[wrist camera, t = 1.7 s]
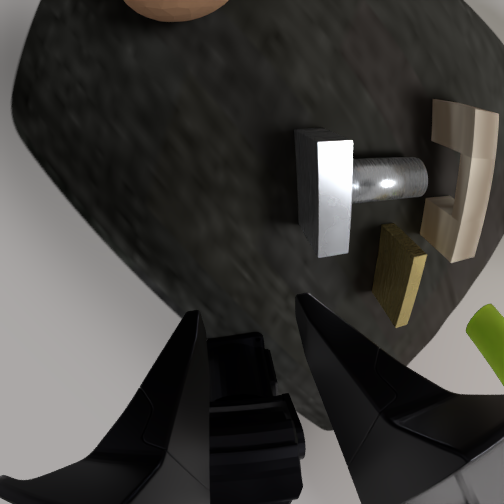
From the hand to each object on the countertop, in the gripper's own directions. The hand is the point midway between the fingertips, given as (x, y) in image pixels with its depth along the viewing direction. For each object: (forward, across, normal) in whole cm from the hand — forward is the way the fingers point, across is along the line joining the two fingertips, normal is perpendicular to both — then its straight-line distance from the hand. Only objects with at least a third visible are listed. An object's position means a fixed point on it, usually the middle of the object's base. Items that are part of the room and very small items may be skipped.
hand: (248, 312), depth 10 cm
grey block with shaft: (+12, -10, 0) cm, 16 cm away
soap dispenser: (+12, -34, +23) cm, 43 cm away
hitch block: (+12, -18, 0) cm, 21 cm away
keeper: (+12, -12, +8) cm, 19 cm away
